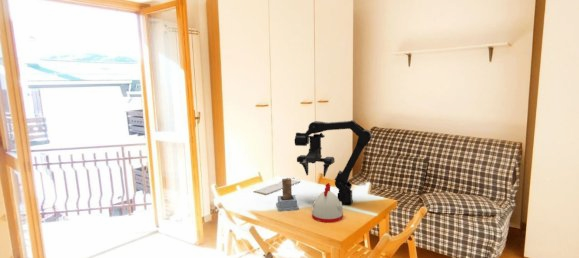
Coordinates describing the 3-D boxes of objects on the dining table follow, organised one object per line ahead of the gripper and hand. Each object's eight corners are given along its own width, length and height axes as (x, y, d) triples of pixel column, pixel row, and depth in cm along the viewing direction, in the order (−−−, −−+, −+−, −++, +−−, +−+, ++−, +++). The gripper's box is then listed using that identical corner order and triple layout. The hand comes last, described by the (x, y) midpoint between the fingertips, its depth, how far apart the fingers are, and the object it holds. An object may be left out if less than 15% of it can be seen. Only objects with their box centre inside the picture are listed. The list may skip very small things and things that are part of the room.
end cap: (295, 202, 165) (295, 194, 165) (299, 209, 155) (298, 200, 155) (276, 204, 164) (275, 195, 163) (278, 211, 154) (278, 202, 154)
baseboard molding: (251, 192, 187) (266, 196, 179) (251, 187, 186) (266, 191, 179) (285, 180, 211) (300, 183, 203) (285, 176, 210) (300, 179, 203)
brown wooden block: (290, 203, 161) (290, 178, 160) (291, 205, 158) (291, 179, 157) (282, 204, 161) (282, 178, 159) (283, 206, 158) (283, 180, 156)
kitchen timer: (345, 213, 150) (345, 181, 148) (339, 224, 137) (339, 189, 136) (316, 209, 155) (316, 179, 153) (308, 220, 142) (307, 187, 141)
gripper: (292, 147, 162) (292, 178, 163) (327, 149, 154) (328, 181, 156) (300, 144, 172) (301, 173, 173) (334, 146, 164) (334, 176, 166)
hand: (315, 176), depth 167 cm, fingers open, 9 cm apart
